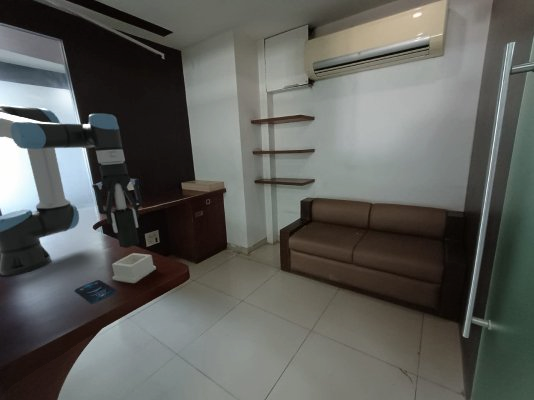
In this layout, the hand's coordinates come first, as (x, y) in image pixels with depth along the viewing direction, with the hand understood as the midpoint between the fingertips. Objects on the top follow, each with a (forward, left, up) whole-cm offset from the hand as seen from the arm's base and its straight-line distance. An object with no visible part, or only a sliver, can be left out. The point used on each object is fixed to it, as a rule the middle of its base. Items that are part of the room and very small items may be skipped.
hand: (126, 229), depth 83 cm
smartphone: (-5, -11, -18) cm, 22 cm away
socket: (0, 0, -18) cm, 18 cm away
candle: (0, 0, -6) cm, 6 cm away
